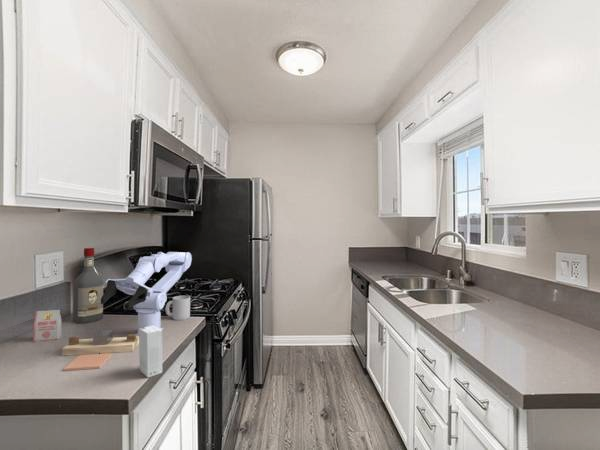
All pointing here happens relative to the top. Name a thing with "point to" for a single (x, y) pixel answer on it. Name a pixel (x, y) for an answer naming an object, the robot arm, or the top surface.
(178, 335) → the top surface
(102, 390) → the top surface
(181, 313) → the cup
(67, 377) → the top surface
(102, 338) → the gray rectangular block
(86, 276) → the liquor
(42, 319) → the white red printed carton
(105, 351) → the hand plane
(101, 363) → the terracotta tile
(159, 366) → the skincare box
